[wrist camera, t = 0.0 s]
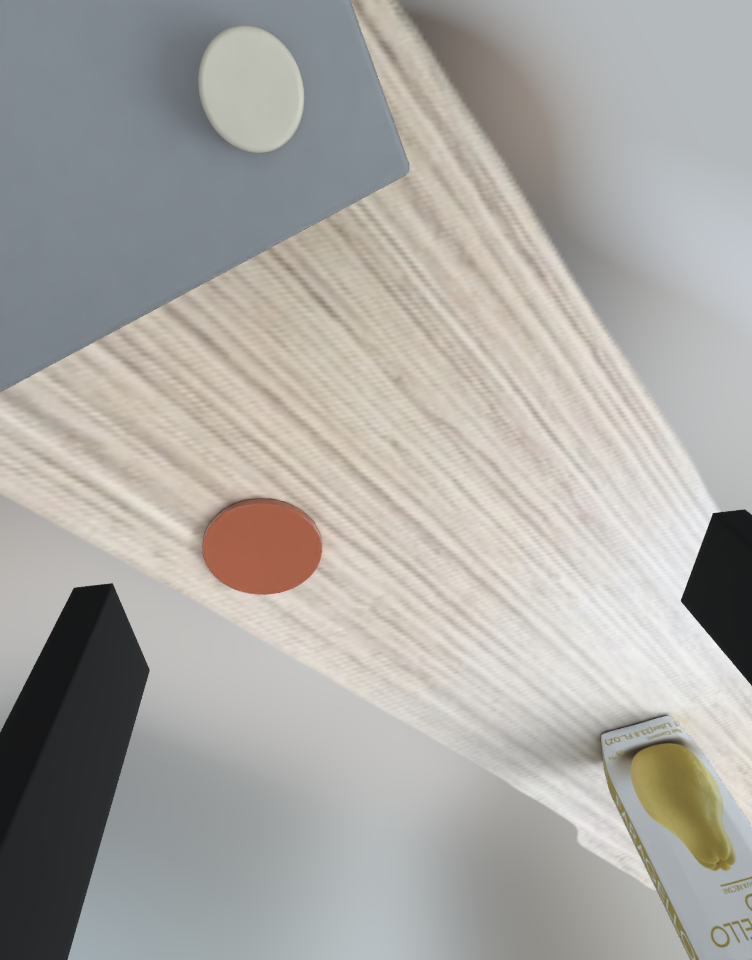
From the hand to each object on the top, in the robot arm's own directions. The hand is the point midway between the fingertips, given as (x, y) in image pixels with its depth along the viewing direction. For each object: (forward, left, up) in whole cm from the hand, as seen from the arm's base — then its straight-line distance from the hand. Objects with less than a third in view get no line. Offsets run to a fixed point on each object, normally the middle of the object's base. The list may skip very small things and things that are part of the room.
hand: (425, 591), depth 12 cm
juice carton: (+46, +27, -21) cm, 57 cm away
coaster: (+15, -7, -21) cm, 26 cm away
